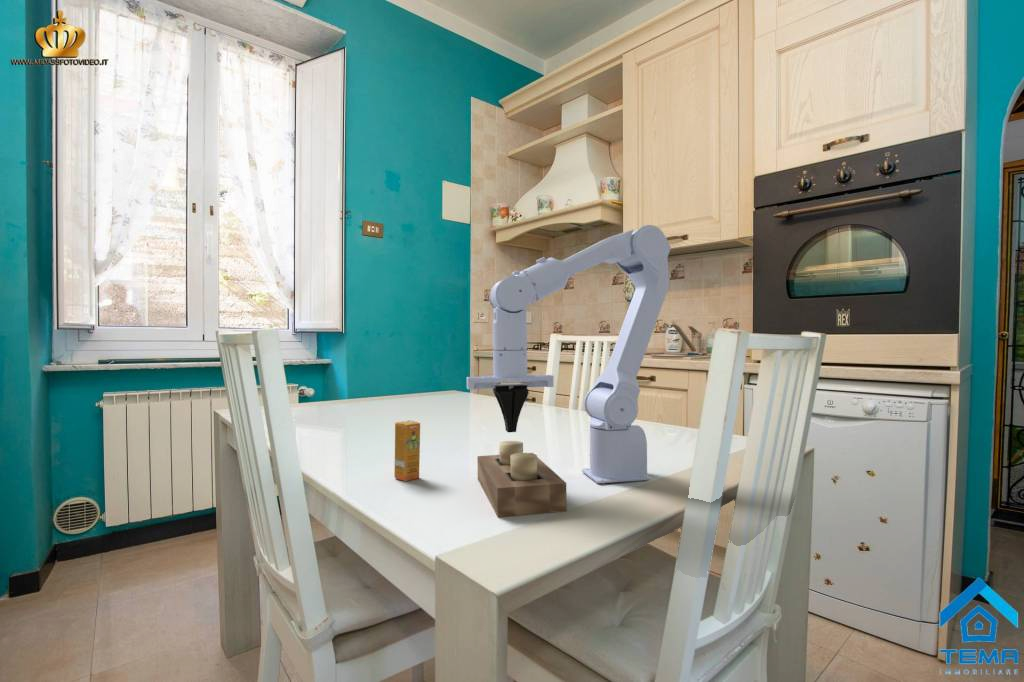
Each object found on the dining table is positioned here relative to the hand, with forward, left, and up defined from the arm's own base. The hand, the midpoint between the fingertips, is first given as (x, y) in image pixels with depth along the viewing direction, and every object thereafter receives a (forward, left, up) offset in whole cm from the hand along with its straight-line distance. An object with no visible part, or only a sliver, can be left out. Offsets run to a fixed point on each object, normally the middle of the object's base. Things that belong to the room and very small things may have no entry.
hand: (510, 431), depth 84 cm
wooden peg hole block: (0, +4, -9) cm, 10 cm away
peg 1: (0, 0, -6) cm, 6 cm away
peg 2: (0, +9, -6) cm, 11 cm away
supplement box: (+17, -9, -9) cm, 21 cm away
